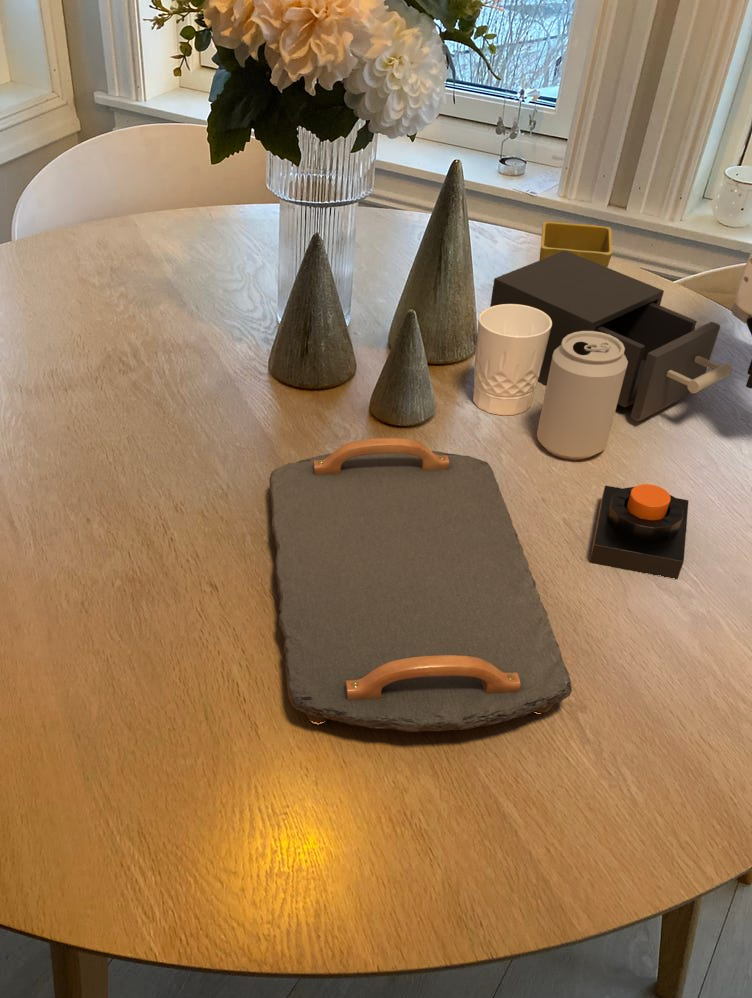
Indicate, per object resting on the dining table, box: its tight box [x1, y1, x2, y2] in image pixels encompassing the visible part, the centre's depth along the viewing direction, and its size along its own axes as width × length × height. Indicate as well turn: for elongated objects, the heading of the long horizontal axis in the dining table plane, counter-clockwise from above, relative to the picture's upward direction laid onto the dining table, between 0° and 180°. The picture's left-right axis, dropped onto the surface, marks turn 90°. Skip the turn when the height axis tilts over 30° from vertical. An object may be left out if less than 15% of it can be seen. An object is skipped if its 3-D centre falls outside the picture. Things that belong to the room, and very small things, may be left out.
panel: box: [589, 485, 689, 580], centre depth 95 cm, size 10×8×4 cm
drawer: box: [595, 302, 733, 422], centre depth 112 cm, size 18×11×8 cm, turn 38°
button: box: [627, 483, 671, 520], centre depth 93 cm, size 4×4×2 cm
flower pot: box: [538, 221, 613, 268], centre depth 130 cm, size 9×9×9 cm
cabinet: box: [489, 251, 665, 386], centre depth 119 cm, size 15×13×10 cm
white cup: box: [472, 304, 552, 416], centre depth 112 cm, size 8×8×10 cm
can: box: [536, 331, 628, 461], centre depth 104 cm, size 8×8×12 cm
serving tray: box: [269, 437, 573, 733], centre depth 89 cm, size 39×23×6 cm, turn 3°
